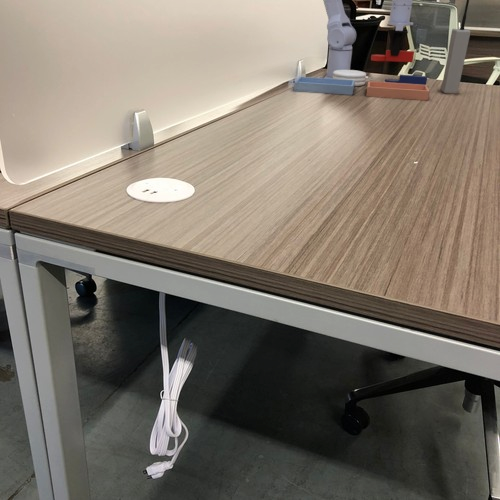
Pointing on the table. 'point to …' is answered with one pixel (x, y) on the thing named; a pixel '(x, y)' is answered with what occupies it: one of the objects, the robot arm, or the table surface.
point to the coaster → (351, 76)
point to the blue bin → (324, 85)
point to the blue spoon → (409, 79)
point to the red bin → (397, 90)
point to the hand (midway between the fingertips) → (394, 55)
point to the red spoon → (395, 57)
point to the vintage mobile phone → (456, 58)
